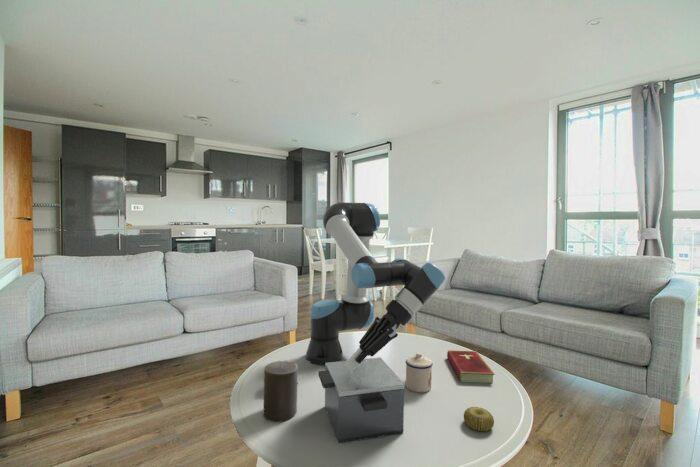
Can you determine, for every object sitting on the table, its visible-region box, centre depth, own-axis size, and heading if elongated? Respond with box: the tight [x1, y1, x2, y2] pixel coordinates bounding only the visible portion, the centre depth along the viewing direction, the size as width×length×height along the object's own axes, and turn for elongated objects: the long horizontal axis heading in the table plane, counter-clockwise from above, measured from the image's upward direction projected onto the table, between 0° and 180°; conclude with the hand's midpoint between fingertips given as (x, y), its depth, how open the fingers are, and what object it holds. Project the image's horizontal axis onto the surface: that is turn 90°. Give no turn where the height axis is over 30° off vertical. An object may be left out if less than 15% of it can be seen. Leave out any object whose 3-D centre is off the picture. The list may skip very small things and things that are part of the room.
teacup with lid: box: [405, 352, 433, 393], centre depth 119 cm, size 12×9×12 cm
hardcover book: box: [446, 349, 495, 384], centre depth 131 cm, size 12×21×4 cm, turn 176°
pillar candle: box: [263, 360, 299, 423], centre depth 101 cm, size 10×10×15 cm
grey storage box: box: [324, 367, 405, 444], centre depth 98 cm, size 24×18×12 cm
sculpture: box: [463, 406, 495, 432], centre depth 96 cm, size 8×4×8 cm
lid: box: [317, 356, 405, 397], centre depth 97 cm, size 18×21×1 cm
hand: (347, 368), depth 96 cm, fingers closed
